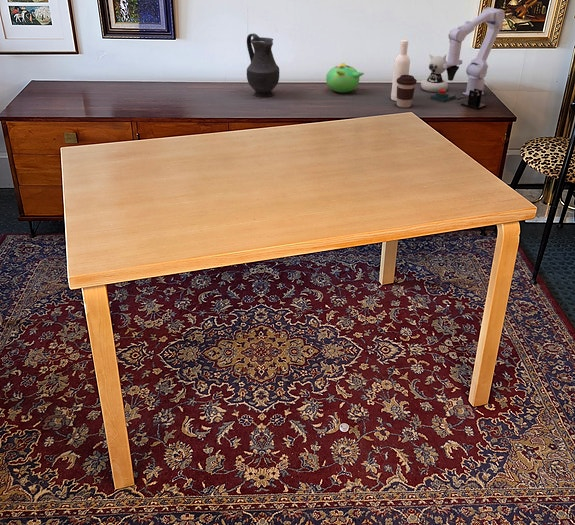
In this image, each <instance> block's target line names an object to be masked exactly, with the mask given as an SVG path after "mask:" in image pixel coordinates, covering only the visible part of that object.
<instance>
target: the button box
mask: <svg viewBox="0 0 575 525" xmlns="http://www.w3.org/2000/svg"><path fill="white" fill-rule="evenodd" d="M430 99H431V100H434V101H438V102H441V103H445V102H448V101H451V100H455V99H456V94H452V93H449V92H448V91H446V94H440V93H439V91H437V92H435V94H432V95H430Z"/></svg>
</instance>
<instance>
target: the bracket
mask: <svg viewBox="0 0 575 525" xmlns="http://www.w3.org/2000/svg"><path fill="white" fill-rule="evenodd" d="M477 91H479V95H478V92H477ZM482 91H483V92H484V89H483V90H479V89H474V91H473V90H470V92H469V97H467V98H468V99H467V101H463V102H461V103H460V106H462V107H466V108H469V109H473V110H477V111H478V110H481V109H484V108H487V104H485V103H481V101H482V95H483V94H482Z"/></svg>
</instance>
